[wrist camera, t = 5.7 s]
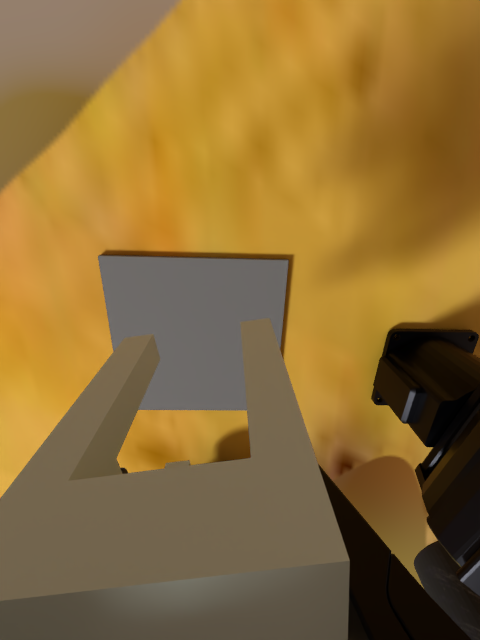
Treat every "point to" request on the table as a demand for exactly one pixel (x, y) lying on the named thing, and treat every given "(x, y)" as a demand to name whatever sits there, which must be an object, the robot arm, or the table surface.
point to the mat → (193, 321)
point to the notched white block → (173, 523)
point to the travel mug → (449, 588)
